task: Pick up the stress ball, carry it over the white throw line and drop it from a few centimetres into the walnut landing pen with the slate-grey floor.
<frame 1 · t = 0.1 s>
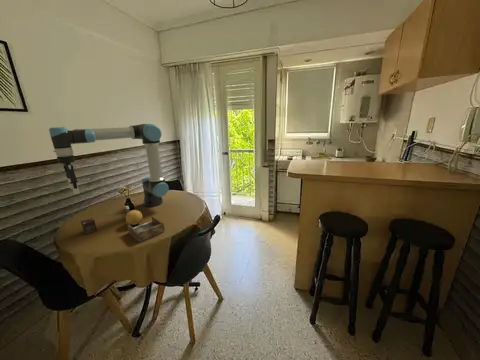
hand: (75, 191, 120), 28 cm above the table, fingers open, 13 cm apart
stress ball: (135, 224, 137), on the table
box: (90, 231, 130), on the table
landing pen: (146, 232, 127), on the table
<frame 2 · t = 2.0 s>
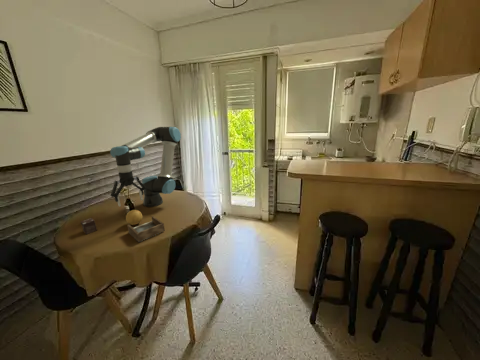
hand: (131, 202, 132), 16 cm above the table, fingers open, 13 cm apart
nothing on the table moved.
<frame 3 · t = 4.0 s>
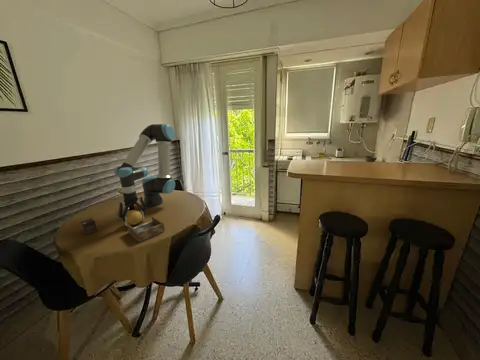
hand: (135, 222, 136), 1 cm above the table, fingers closed on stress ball, 10 cm apart
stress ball: (135, 224, 137), on the table, touching gripper
everything else where it was.
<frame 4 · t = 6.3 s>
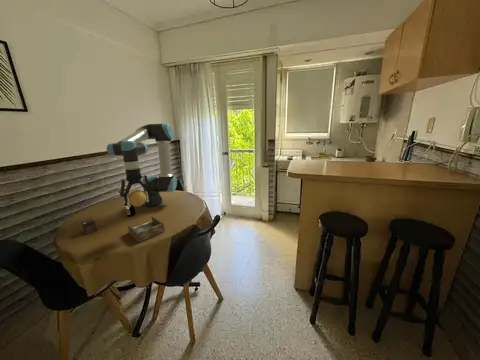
hand: (138, 204, 123), 19 cm above the table, fingers closed on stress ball, 10 cm apart
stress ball: (138, 206, 123), point 17 cm above the table, touching gripper
everything else where it was.
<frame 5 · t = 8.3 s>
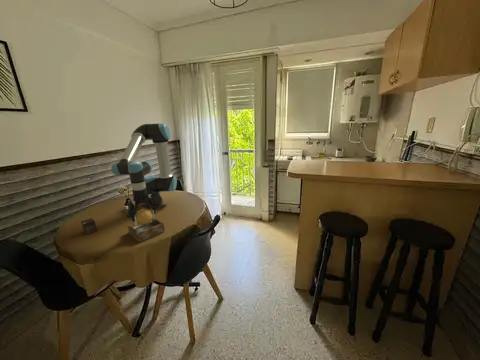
hand: (145, 222, 125), 7 cm above the table, fingers closed on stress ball, 10 cm apart
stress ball: (145, 224, 125), point 5 cm above the table, touching gripper
everything else where it was.
when the fingers open (7 cm above the table, at t = 8.7 s): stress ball drops 5 cm, resting on landing pen.
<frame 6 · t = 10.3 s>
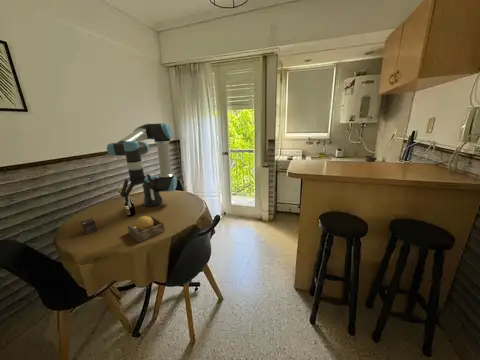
hand: (141, 202, 121), 20 cm above the table, fingers open, 13 cm apart
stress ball: (146, 231, 126), resting on landing pen
everything else where it was.
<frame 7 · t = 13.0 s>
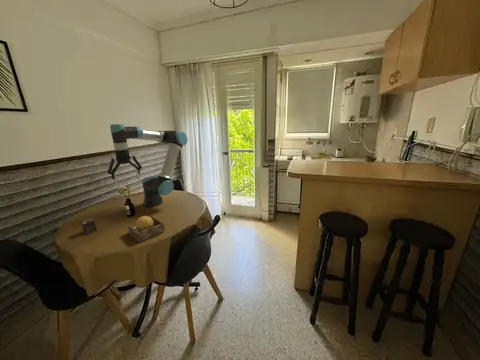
hand: (127, 181, 134), 29 cm above the table, fingers open, 13 cm apart
nothing on the table moved.
at the end: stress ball inside the target area on the landing pen (0.4 cm from its centre), point 0.4 cm above the landing pen's base; the gripper is holding nothing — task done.
